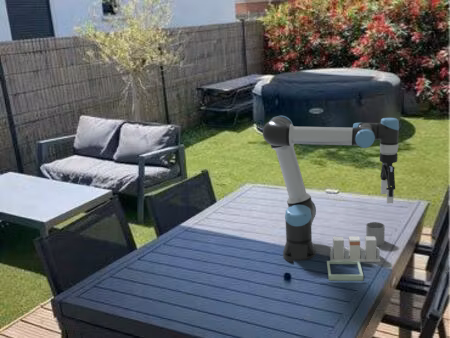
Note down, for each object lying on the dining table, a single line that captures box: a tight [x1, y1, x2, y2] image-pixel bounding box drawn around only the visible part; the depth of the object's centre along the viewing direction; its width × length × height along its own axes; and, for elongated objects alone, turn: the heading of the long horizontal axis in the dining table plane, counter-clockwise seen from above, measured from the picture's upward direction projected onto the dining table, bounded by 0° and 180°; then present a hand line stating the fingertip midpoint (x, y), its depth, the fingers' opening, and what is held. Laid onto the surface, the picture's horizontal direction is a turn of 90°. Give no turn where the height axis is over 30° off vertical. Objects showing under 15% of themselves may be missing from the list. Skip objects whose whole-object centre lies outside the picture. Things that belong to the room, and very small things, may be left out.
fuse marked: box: [348, 236, 361, 259], centre depth 221 cm, size 4×4×9 cm
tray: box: [326, 260, 364, 282], centre depth 211 cm, size 14×14×2 cm
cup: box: [365, 221, 386, 246], centre depth 236 cm, size 8×8×10 cm
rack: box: [329, 246, 381, 263], centre depth 222 cm, size 21×9×6 cm, turn 82°
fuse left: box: [332, 236, 345, 259], centre depth 222 cm, size 4×4×9 cm
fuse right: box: [364, 235, 377, 259], centre depth 220 cm, size 4×4×9 cm
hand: (386, 198), depth 225 cm, fingers open, 13 cm apart
